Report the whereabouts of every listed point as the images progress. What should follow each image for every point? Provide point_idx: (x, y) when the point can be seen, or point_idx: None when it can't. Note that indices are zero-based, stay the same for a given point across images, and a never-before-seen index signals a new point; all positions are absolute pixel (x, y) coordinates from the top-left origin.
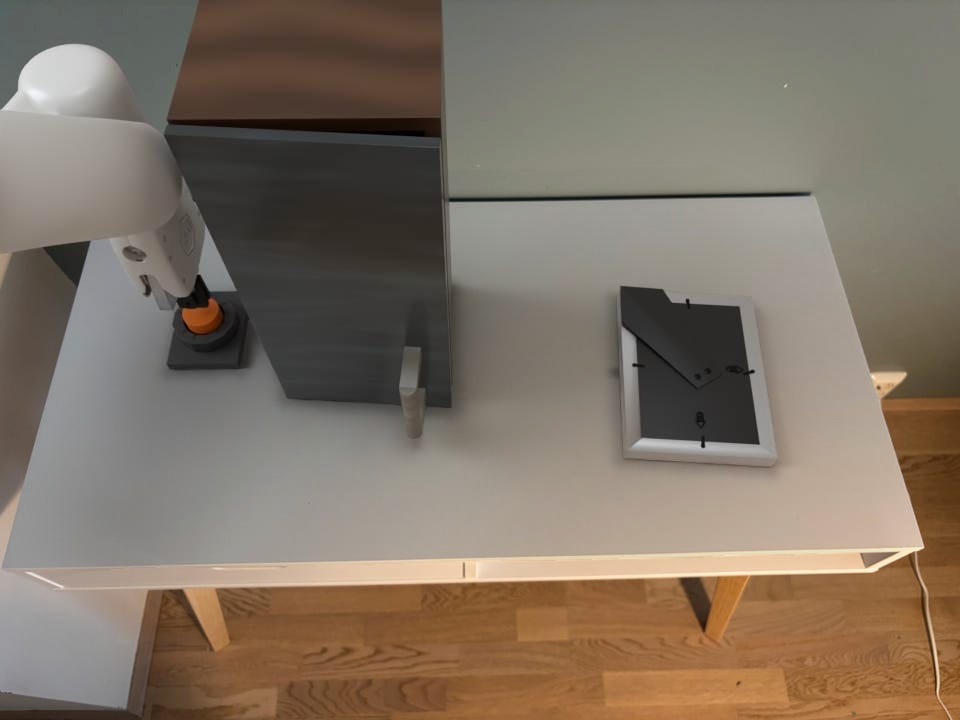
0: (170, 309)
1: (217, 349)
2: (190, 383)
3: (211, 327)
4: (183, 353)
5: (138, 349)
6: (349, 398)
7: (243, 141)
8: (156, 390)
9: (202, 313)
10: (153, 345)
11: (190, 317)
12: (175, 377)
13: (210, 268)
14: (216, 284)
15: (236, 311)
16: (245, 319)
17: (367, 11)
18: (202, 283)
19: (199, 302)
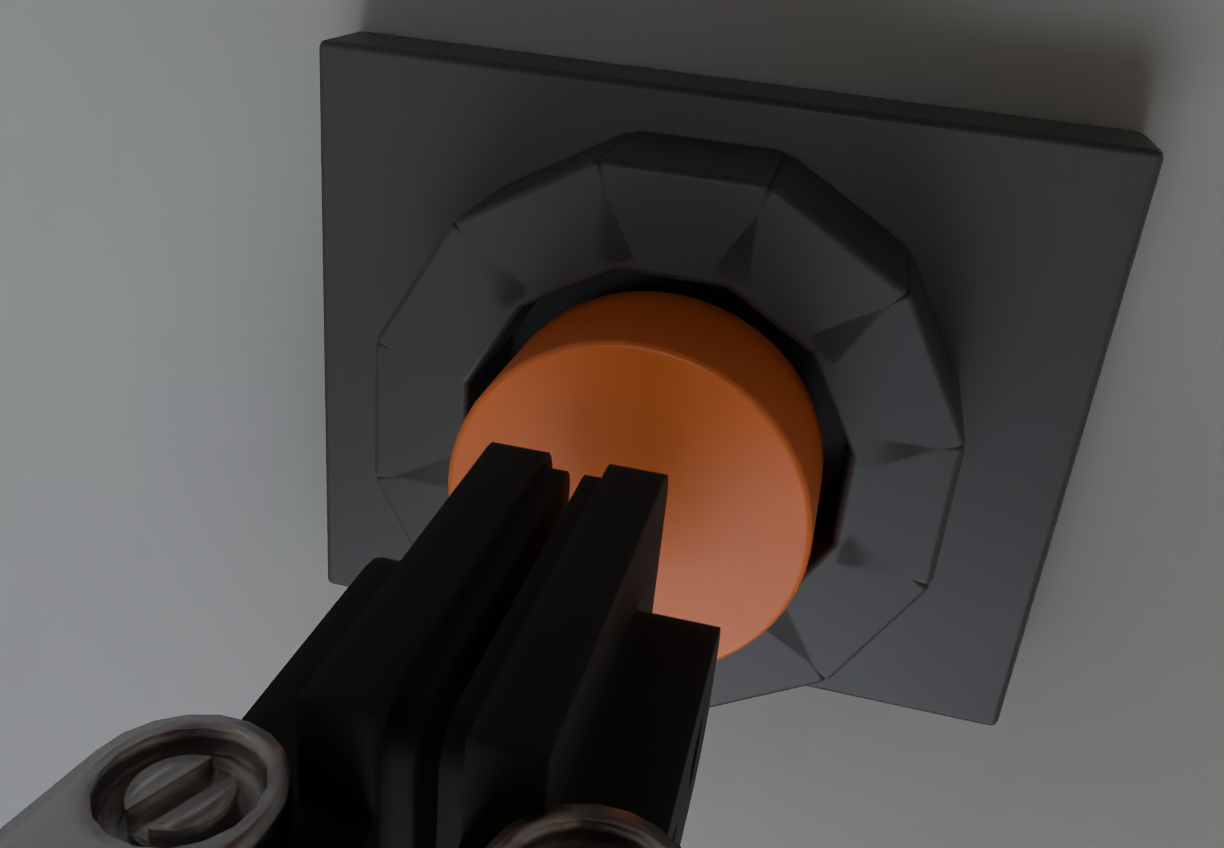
0: None
1: (946, 340)
2: (1173, 547)
3: (798, 407)
4: (921, 606)
5: (764, 839)
6: None
7: None
8: (1159, 768)
9: None
10: (748, 757)
11: (691, 608)
12: (1076, 645)
13: (106, 368)
14: (244, 328)
15: (540, 164)
16: (632, 78)
17: None
18: (434, 625)
19: (640, 594)
